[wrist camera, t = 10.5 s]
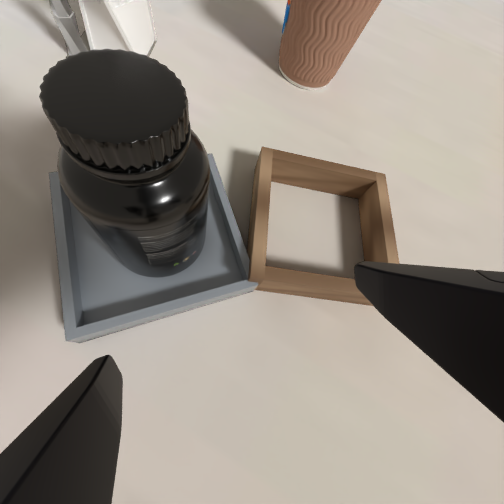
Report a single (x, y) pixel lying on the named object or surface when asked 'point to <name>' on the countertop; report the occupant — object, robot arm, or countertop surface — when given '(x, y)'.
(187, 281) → the tray
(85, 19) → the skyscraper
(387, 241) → the slot holder
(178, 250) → the supplement bottle
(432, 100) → the countertop surface
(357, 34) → the coffee cup
